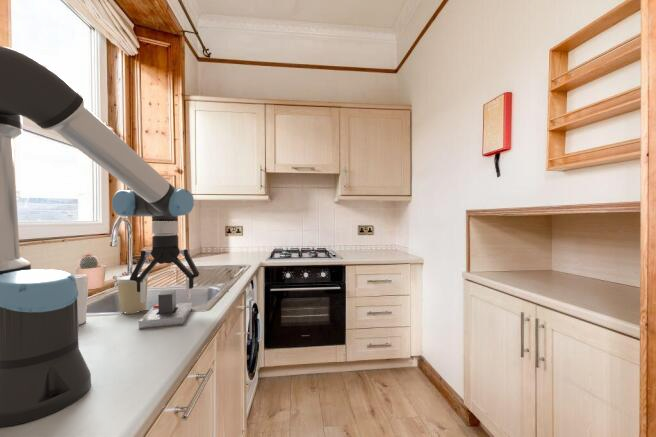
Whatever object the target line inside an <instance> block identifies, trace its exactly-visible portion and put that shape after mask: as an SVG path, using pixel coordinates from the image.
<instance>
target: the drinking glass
mask: <svg viewBox="0 0 656 437" xmlns="http://www.w3.org/2000/svg"><path fill="white" fill-rule="evenodd" d="M72 275H73V276H74V277H75V279H76V284H77V290H78V297H77V305H78V326H80V325H83V324H85V323H86V321H87V306H88V297H89V296H88V294H89V276H88V274H81V273H80V274H72Z"/></svg>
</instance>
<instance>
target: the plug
mask: <svg viewBox="0 0 656 437" xmlns="http://www.w3.org/2000/svg"><path fill="white" fill-rule="evenodd" d="M176 296H177V292H176V290H163V291H161V292H160V293H159V294H158V299H157V302H158V304H159V315H160V314H172V313H175V312H176V304H177V297H176Z"/></svg>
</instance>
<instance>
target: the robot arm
mask: <svg viewBox="0 0 656 437" xmlns="http://www.w3.org/2000/svg"><path fill="white" fill-rule="evenodd" d="M85 104H86V103H85V98H84V96H82V95H81V94H80V93H79V92H78V91H77V90H75V89H74V88H73V87H72V86H71V85H70V84H69V83H68V82H66V81H65V80H64V79H63V78H61V77H60V76H59V75H58V74H56V73H55V72H54V71H53V70H51V69H50V68H48V67H47V66H46V65H44V64H42V63H41V62H39V61H38V60H36V59H34V58H32V57H31V56H29V55H27V54H25V53H24V52H21V51H18V50H15V48H14V49H13V48H11V47H7V46H4V45H3V46H1V45H0V428H4V427H11V426H15V425H19V424H23V423H28V422H32V421H34V420H39V419H41V418H43V417H46V416H50V415H51V414H53V413H56V412H58V411H60V410H62V409H64V408H66V407H67V406H70V405H72V404H73V403H75V402H77V401H78V400H80V399H81V398H83V396H85V394H86V393H88V391H90V389H91V386H92V376H91V375H92V374H91V370H90V369H89V367H88V364H87V363H86V361H85V358H84V356H83V354H82V352H81V350H80V347H79V346H80V345H79V325H78V305H77V297H78V290H77V284H76V279H75V277H74V276H73V275H74V274H72V273H70V272H68V271H64V270H60V269H49V268H48V269H39V268H38V269H32V264H31V262H30V261H29V260H27V259H26V258H24V257H22V256H21V254H20V252H21V251H20V237H19V236H20V235H19V233H20V232H19V220H18V205H17V203H18V202H17V185H16V171H15V170H16V169H15V156H14V155H15V154H14V152H15V151H14V139H16V138H17V137H18V136H20V135H22V134H23V132H24V130H23V117H24V118H26V119H28V120H30V121H31V122H33V123H35V124H36V125H37V126H38V127H39V128H41V129H42V130H46V131H47V130H49V131H53V132H55V133H57V134H58V135H59V136H60V137H62V138H63V139H64V140H65V141H67V142H68V143H70V145H72V146H74V148H76V149H77V150H79V151H80V152H82V154H84V155H86V156H87V157H88V158H89V159H90V160H92V161H93V162H95V163H96V164H97V165H98V166H100V168H102V169H104V171H106V172H108V174H110V175H111V176H112V177H114V178H115V179H117V180H118V181H119V182H121V184H123V185H125V186H126V187H127V188H129V189H121V190H118V191H116V192H115V193H114V195H113V197H112V199H111V206H112V210H113V211H114V213H115V214H116V215H118V216H120V217H127V218H130V217H131V218H133V217H151V226H152V227H151V229H152V230H151V234H153V236H152V237H151V239H152V242H151V244H152V246H151V247H152V248H151V250H147V249H143V250H141V252H140V257H139V260H138V261H137V263H136V266H135V267H134V270H133V271H132V272H131V274H130V275H131V277H130V280H133V281H136V282H137V292H140V303H144V302H145V301H146V281H143V279H144V278H145V277H146V275H147V276H148V274H149V273H150V272H151V271H152V270H153V269H154V267H156V265H157V264H160V265H162V264H174V265H175V266H176V267H177V268H178V269H179V270H180V271H181V272H182V273H183V274H184V275H185V276H186V277H187V278H186V280H185V285H186V286H185V287H186V288H185V289H186V291H185V292H186V293H185V294H186V296H185V297H186V300H187V301H188V300H190V299H191V290H192V289H193V288H194V283H195V278H197V277H199V276H200V271H199V269H198V268H197V266H196V265H195V263H194V262H195V261H194V260H193V259H192V257H191V255H190V249H189V248H185V249H180V248H179V236H178V235H177V234H178V233H179V217H180V216H186V215H188V214H190V213H191V212H192V211H193V208H194V205H195V199H194V196H193V194H192V192H190V191H189V190H188V189H187V188H186V189H185V188H181V187H177V188H176V187H174V186H173V185H172V184H171V183H170V182H169V181H168V180H166V178H164V176H162V175H161V174H160V173H159V172H158V171H157V170H156V169H155V168H153V167H152V165H150V163H148V162H147V161H146V160H144V158H142V157H141V156H140V155H139V154H138V153H137V152H136V151H135V150H134V149H133V148H131V147H130V145H128V144H127V143H126V142H125V141H124V140H123V139H122V138H120V137H119V136H118V135H117V133H115V132H114V131H113V130H112V129H111V128H110V127H109V126H107V125H106V124H105V123H104V122H103V121H102V120H101V119H100V118H99V117H97V116H96V115H95V114H94V113H93V111H91V110H90V109H89V108H88V107H86V105H85ZM180 254H181V256H183V257H184V260H186V263H187V264H188V265H187V266H189V268H190V270H191V271H190V270H189V268H188V267H187V266H186V265H185V264H184V263H183V262H182V261H181V260H180V258H179V255H180ZM150 256H151V257H152V258H153V260H151V262H150V263H149V264H148V266H147V267H146V268H144V270H143V271H142V268H143V266H144V264H145V262H146V261H147V258H149V257H150ZM141 271H142V273H141V275H140V276H139V277H138V275H139V274H140V272H141Z"/></svg>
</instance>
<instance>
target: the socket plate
mask: <svg viewBox="0 0 656 437" xmlns="http://www.w3.org/2000/svg"><path fill="white" fill-rule="evenodd" d="M192 305H193V303H192V302H181V303H176V312H175V313H172V314H160V315H159V303H157V304H156V303H155V304H154V305H153V306H152V307H151V308H150V309H149V310H148V311H147V312H146V313H145V314H144V315H143V316H142V317H141V318H140V319H139V320H138V330H142V329H143V330H145V329H153V328H154V329H155V328H163V327H165V328H166V327H172V326H173V327H175V326H183V325H184V323H185V321H186V320H187V318H188V316H190V315H189V314H190V313H191V311H192V310H193V309H192V308H193V307H192ZM191 309H192V310H191Z"/></svg>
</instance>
